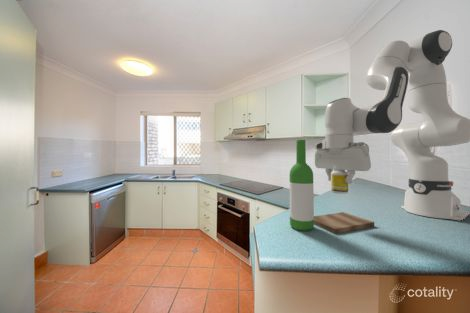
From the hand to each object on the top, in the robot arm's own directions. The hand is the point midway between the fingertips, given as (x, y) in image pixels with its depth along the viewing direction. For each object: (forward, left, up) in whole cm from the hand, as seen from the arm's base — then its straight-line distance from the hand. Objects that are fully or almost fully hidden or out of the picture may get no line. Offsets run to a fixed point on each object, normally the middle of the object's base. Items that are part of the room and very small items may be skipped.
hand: (339, 182), depth 65 cm
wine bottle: (+15, -2, -15) cm, 22 cm away
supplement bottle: (0, 0, -4) cm, 4 cm away
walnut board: (0, 0, -15) cm, 15 cm away
